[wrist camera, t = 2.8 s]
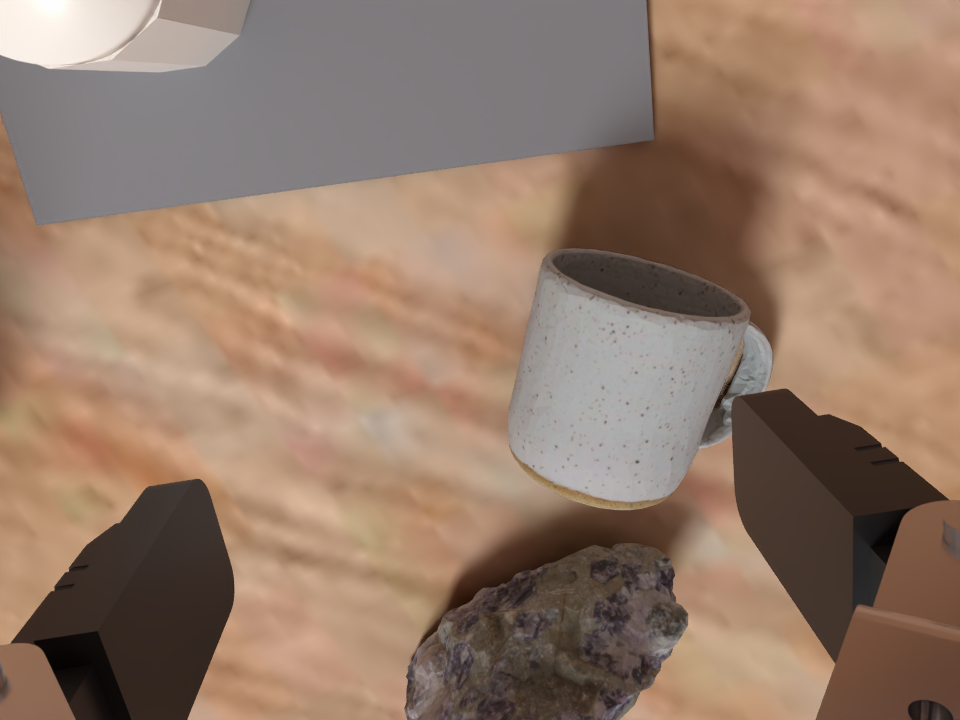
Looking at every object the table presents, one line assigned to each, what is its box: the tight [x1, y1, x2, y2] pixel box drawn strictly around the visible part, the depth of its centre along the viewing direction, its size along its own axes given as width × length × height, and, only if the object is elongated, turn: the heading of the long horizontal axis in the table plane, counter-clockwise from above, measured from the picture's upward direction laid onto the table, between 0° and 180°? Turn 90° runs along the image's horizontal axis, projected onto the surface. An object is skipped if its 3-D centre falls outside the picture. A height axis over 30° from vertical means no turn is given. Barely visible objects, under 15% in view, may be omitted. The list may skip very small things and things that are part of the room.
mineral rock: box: [404, 543, 688, 720], centre depth 33 cm, size 13×11×10 cm
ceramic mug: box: [508, 248, 773, 510], centre depth 30 cm, size 11×8×8 cm
